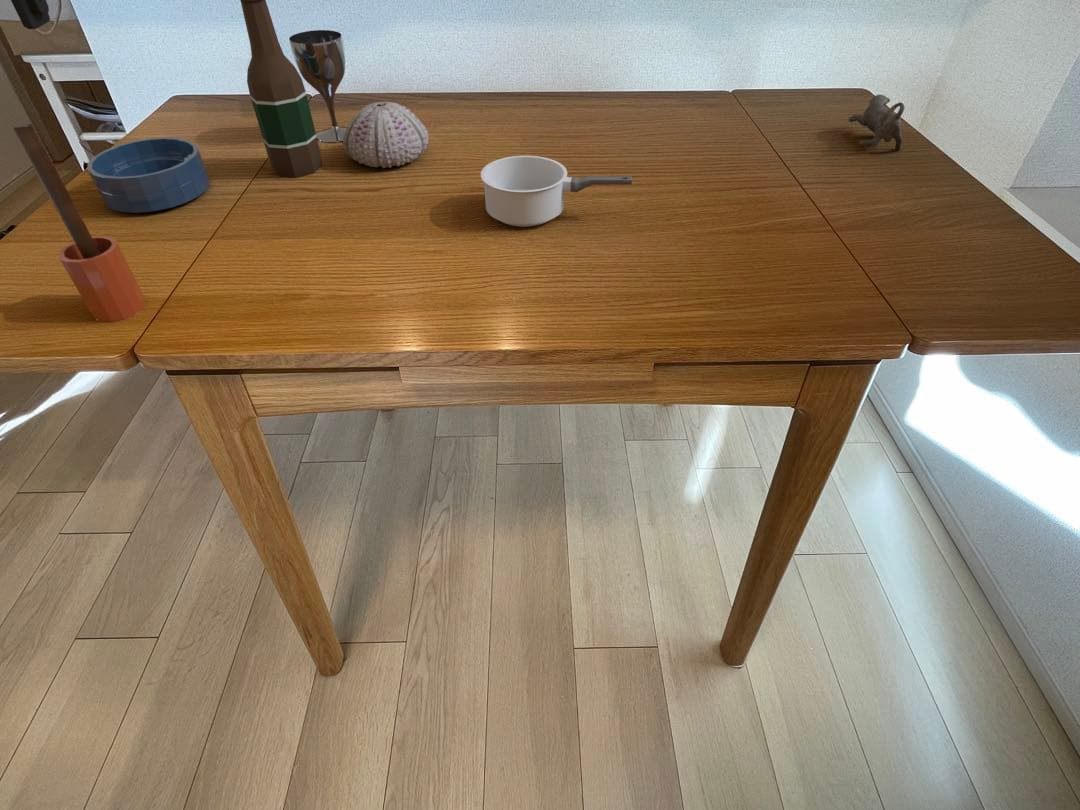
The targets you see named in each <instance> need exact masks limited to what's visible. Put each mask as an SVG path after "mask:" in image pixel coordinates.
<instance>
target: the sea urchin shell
mask: <svg viewBox="0 0 1080 810" xmlns="http://www.w3.org/2000/svg"><path fill="white" fill-rule="evenodd" d="M345 127H346V131H345V134H344V137H343V139H344V140H343V142H341V143H342V145H343V150H344V151H345V152H346V155H347V156H349V157H350V159H353V161H356V162H358V164H360V165H362V164H363V165H365V166H369V167H370V168H373V167H374V168H376V169H377V168H378V167H382V168H383V169H386V168H389V169H391V168H392V167H394V166H395V167H400V166H404V165H405V164H407V163H413V162H414V161H415V160H416V159H419V157H421V155H423V154H424V153H425V151H426V150H427V149H428V145H429V144H430V143H429V138H430V137H429V131H428V130H427V128H426V126H425V125H424V123H422V122H421V119H419V118H418V117H417V116H416V114H415V113H414V112H412V111H411V109H410V108H407V107H406V106H405V105H401V104H399V103H396V102H390V101H377V102H372V103H369V104H368V105H365V106H364V107H362V108H361V110H360V111H357V113H356V114H355V115H354V116H352V119H351V120H350V121H348V126H345Z"/></svg>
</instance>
